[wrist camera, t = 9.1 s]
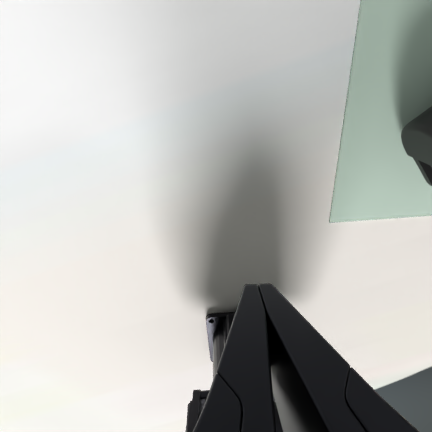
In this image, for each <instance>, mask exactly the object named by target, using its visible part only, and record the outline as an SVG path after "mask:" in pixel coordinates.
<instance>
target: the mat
mask: <svg viewBox="0 0 432 432" xmlns="http://www.w3.org/2000/svg"><path fill="white" fill-rule="evenodd" d="M431 106H432V0H361V2H360V9H359V16H358V23H357V30H356V37H355V44H354V51H353V58H352V65H351V72H350V79H349V86H348V93H347V100H346V107H345V114H344V121H343V128H342V135H341V142H340V149H339V156H338V163H337V170H336V177H335V184H334V191H333V198H332V205H331V212H330V219H329V222H330V223H334V222H348V221H362V220H377V219H391V218H405V217H419V216H432V186H431V185H429V184H428V183H427V182H426V180H425V178H424V177H423V175H422V173H421V171H420V169H419V168H418V166H417V164H416V162H415V161H414V159H413V157H410V156H408V155H407V153H406V151H405V149H404V147H403V144H402V140H401V133H402V130H403V128H404V126H405V125H406V124H408V123H409V122H410V121H412V120H413V119H414V118H416V117H417V116H419V115H420V114H421V113H423V112H424V111H425V110H427V109H428V108H430V107H431Z"/></svg>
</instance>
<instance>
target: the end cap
mask: <svg viewBox="0 0 432 432" xmlns="http://www.w3.org/2000/svg"><path fill="white" fill-rule="evenodd" d="M401 140H402V144H403V147H404V149H405V151H406V153H407V155H408V156H410V157H413V159H414V161H415V162H416V164H417V166H418V168H419V169H420V171H421V173H422V175H423V177H424V178H425V180H426V182H427V183H428V184H429V185H431V186H432V106H431V107H430V108H428V109H427V110H425V111H424V112H423V113H421V114H420V115H419V116H417V117H416V118H414V119H413V120H412V121H410V122H409V123H408V124H406V125H405V126H404V128H403V130H402V133H401Z"/></svg>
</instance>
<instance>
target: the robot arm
mask: <svg viewBox="0 0 432 432" xmlns="http://www.w3.org/2000/svg"><path fill="white" fill-rule="evenodd" d="M210 319H213V320H210ZM206 325H207V333H208V341H209V350H210V358H211V361H212V362H213V383H212V386H211V388H210V390H206V391H201V390H194V391H193V399H192V401H190V403H189V404H188V412H187V426H186V432H419V431H418V430H417V429H416V428H415V427H414V426H413V425H412V424H410V423H409V422H408V421H407V420H406V419H405V418H404V417H402V416H401V415H400V414H399V413H398V412H397V411H396V410H395V409H393V407H392V406H391V405H389V404H388V403H387V402H386V401H385V400H384V399H383V398H382V397H381V396H380V395H379V394H378V393H377V392H376V391H375V390H374V389H373V388H372V387H371V386H370V385H369V384H368V383H367V382H366V381H365V380H364V379H363V378H362V377H361V376H360V375H359V374H358V373H357V372H356V371H355V370H354V369H353V368H350V365H349V364H348V363H347V362H346V361H345V360H344V359H343V358H342V357H341V355H340V354H339V353H338V352H337V351H336V350H335V349H334V348H333V347H332V346H331V345H330V344H329V343H328V342H327V341H326V340H325V339H324V338H323V337H322V336H321V335H320V334H319V333H318V332H317V331H316V329H315V328H314V327H313V326H312V325H311V324H310V323H309V322H308V321H307V320H306V319H305V318H304V317H303V316H302V315H301V314H300V313H299V312H298V311H297V310H296V309H295V308H294V307H293V306H292V305H291V304H290V302H289V301H288V300H287V299H286V298H285V297H284V296H283V295H282V294H281V293H280V292H279V291H278V290H277V289H276V288H275V287H274V286H273V285H272V284H270V283H265V284H259V285H257V284H246V285H245V286H244V288H243V291H242V294H241V297H240V300H239V304H238V307H237V310H236V312H232V313H217V314H209V315H207V316H206Z"/></svg>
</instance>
